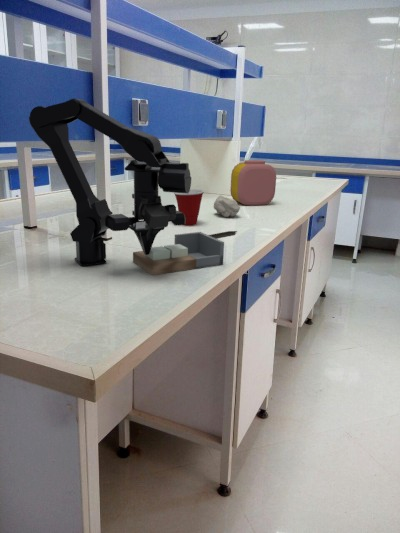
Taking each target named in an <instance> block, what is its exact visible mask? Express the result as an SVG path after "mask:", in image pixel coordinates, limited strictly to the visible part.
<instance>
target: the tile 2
mask: <svg viewBox="0 0 400 533" xmlns="http://www.w3.org/2000/svg"><path fill="white" fill-rule="evenodd" d="M163 247H165V248H167V249H168V250H170V257H171V258H176V257H183V256H188V248H186V247H184V246H182V245H180V244H176V245H174V244H169V245H163Z"/></svg>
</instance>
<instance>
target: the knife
mask: <svg viewBox="0 0 400 533" xmlns="http://www.w3.org/2000/svg"><path fill="white" fill-rule="evenodd" d="M236 233H238V231H237V230H236V231H235V230H229V231H224V232H217V233H213V234H208V235H209V236H211V237H213V238H216V239H217V238H223V237H227V236H233V235H235V234H236Z"/></svg>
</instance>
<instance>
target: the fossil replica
mask: <svg viewBox="0 0 400 533" xmlns="http://www.w3.org/2000/svg"><path fill="white" fill-rule="evenodd" d="M213 209H214V210H215V211H216V213H217V214H218V215H219V216H220V215H221V216H222V217H225V218H229V217H231V218H232V217H235V216H237V214H238V213H239V211H240V210H241V206H240V205H238V202H236V201H235V200H234V199H233V198H230V197H225V196H223V195H218V196H217V197H216V199H215V200H214V203H213Z"/></svg>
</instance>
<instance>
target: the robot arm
mask: <svg viewBox="0 0 400 533" xmlns="http://www.w3.org/2000/svg"><path fill="white" fill-rule="evenodd" d="M77 120H79V121H81V122H82V123H84V124H86V125H87V126H89V127H90V128H93V129H94V130H96V131H98V132H99V133H102V134H103V135H104V136H106V137H108V138H109V139H111V140H112V141H115V142H116V143H117V144H119V146H120V147H121V148H122V149H123V150H124V151H125V153H127V154H128V155H129V156H130V157H132V158H133V159H132V160H130V162H129V163H128V165H126V166H125V167H124V170H125V171H129V172H133V193H132V194H131V198H132V199H133V209H134V210H132V212H131V213H132V216H127V215H125V214H122V213H117V214H116V213H113V211H112V210H111V209H110V208H109V205H108V202H107V199H106V198H104V199H99V198H98V197H97V196H96V195H95V194H94V192H93V190H92V188H91V186H90V184H89V181H88V179H87V177H86V175H85V172H84V171H83V168H82V166H81V164H80V161H79V160H78V158H77V155H76V153H75V151H74V149H73V147H72V145H71V143H70V138H69V137H70V136H69V135H70V134H69V132H70V131H69V126H68V125H69V124H71V123H73V122H75V121H77ZM28 122H29V125H30V127H31V128H32V129H33V131H34V132H35V134H36V136H37V137H38V138H39V139H40V140H41V141H42V142H43V143H45V145H46V146H47V147H48V148H49V149H50V151H51V153H52V155H53V158H54V159H55V162H56V164H57V166H58V168H59V170H60V173H61V174H62V176H63V178H64V181H65V182H66V185H67V187H68V189H69V190H70V193H71V196H72V197H73V200H74V201H75V208H76V209H75V212H76V213H75V214H76V219H77V222H78V224H77V226H76V227H74V229H73V230H72V231H70V234H69V235H70V237H71V241H73V242H74V243H75V255H76V257H74V261H76V263H77V264H78V265H80V266H81V267H86V266H87V267H88V266H95V265H102V264H103V265H104V264H107V260H106V259H107V249H106V248H107V247H106V242H104V238H103V237H104V236H105V235H106V233H107V230H111V231H112V232H120V231H122V232H123V231H128V230H129V229H130V230H132V231H133V232H134V235H136V238H137V240H138V242H139V244H140V247H141V249H142V250H141V251H143V252H144V254H145V255H149V253H150V250H151V247H153V245H154V241H155V239H156V237H157V235H158V233H160V232H161V231H164V230H165V228H168V226H169V223H171V224H172V225H173V226H176V227H177V226H186V225H185V223H186V217H185V215H184V214H183V213H182V212H179V211H178V210H177V206H176V205H175V204H166V205H163V204H162V198H161V195H159V189H161V190H162V191H163V193H173V194H174V193H187V194H188V193H189V191H190V189H191V187H192V186H191V185H192V176H191V170H190V168H189V163H188V162H181V163H177V162H176V163H175V162H170V160H169V159H168V158H167V156H166V154H165V153H164V151H163V150H162V145H161V144H162V143H161V141H160V139H159V138H158V137H157V136H154V134H149V133H147V132H146V131H145V132H144V131H141V130H138V129H135V128H131V127H129V126H127V125H125V124H123V123H121V122H120V121H119V120H116V119H115V118H114V117H112V116H111V115H108V114H106V113H105V112H103V111H102V110H99V109H98V108H96V107H95V106H93V105H91V104H89V103H88V101H87V100H85V99H80V98H71V99H69V100H66V101H63V102H60V103H56V104H52V105H48V106H40V105H38V106H35V107H33V108H32V109H31V111H30V113H29V116H28Z"/></svg>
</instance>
